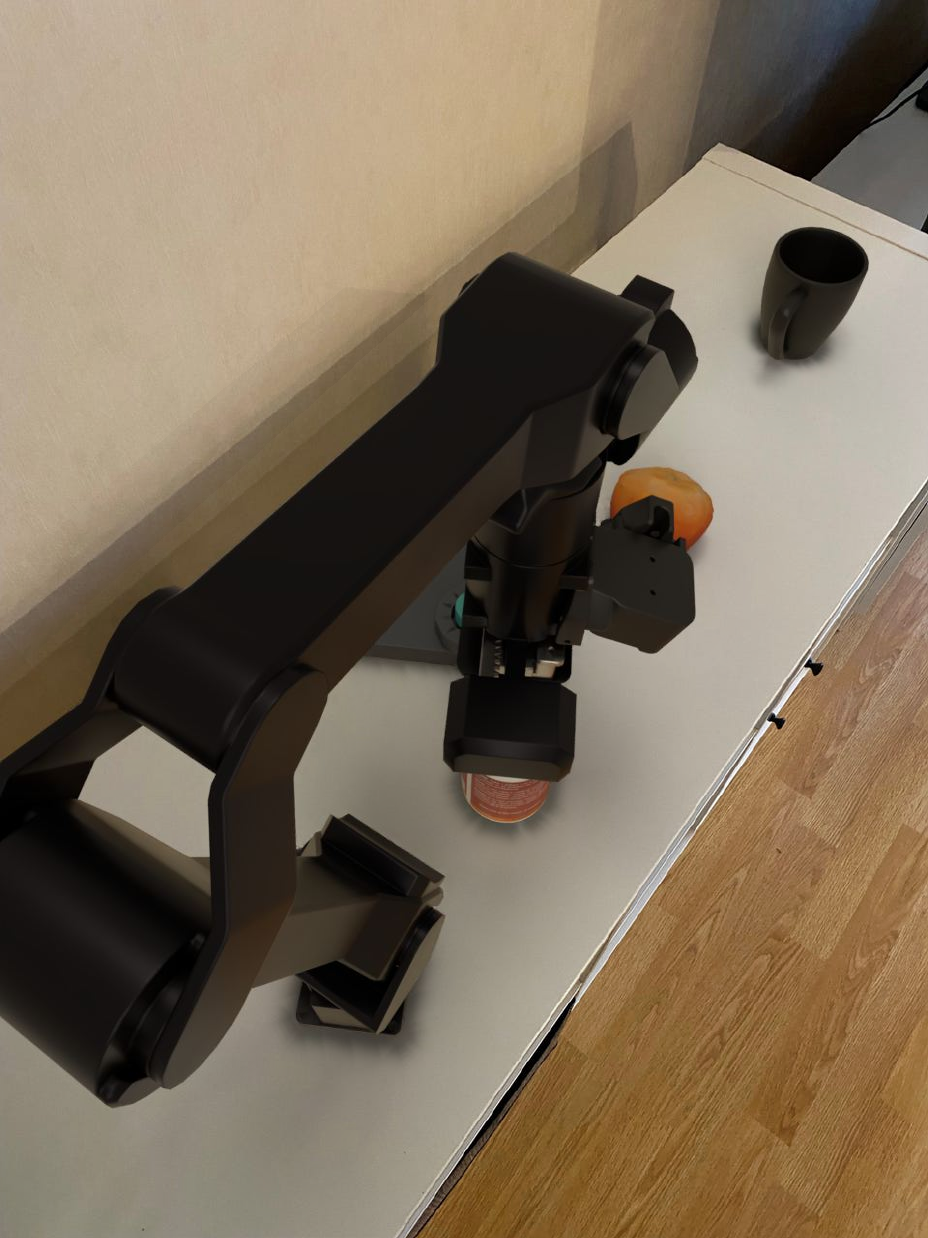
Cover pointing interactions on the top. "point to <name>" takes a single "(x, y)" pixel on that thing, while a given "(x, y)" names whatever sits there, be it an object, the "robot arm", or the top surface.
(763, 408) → the top surface
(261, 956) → the robot arm
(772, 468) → the top surface
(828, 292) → the mug
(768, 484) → the top surface
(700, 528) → the fruit
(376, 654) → the scale
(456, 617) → the button
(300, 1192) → the top surface
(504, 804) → the pill bottle
